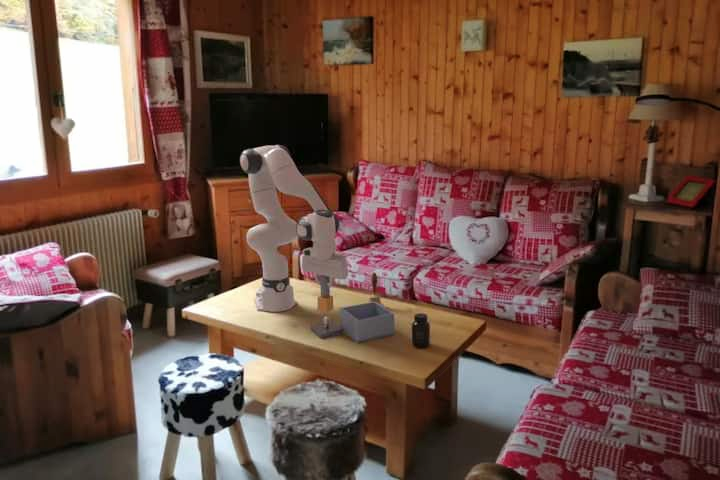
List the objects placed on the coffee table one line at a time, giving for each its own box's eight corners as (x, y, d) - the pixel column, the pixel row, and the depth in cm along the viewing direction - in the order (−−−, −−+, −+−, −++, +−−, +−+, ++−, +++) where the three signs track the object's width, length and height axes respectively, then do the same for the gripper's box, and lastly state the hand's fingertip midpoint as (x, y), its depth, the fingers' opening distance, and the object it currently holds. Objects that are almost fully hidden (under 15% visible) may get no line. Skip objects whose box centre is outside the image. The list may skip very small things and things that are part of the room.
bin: (340, 328, 239) (339, 308, 237) (375, 321, 246) (374, 301, 243) (358, 343, 225) (357, 321, 223) (394, 335, 232) (394, 313, 230)
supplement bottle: (433, 344, 223) (433, 314, 220) (422, 350, 218) (423, 320, 215) (418, 339, 227) (419, 310, 224) (408, 345, 222) (408, 315, 219)
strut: (324, 306, 237) (323, 272, 233) (333, 309, 235) (332, 274, 231) (317, 310, 234) (316, 275, 230) (326, 312, 231) (326, 277, 227)
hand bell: (361, 307, 263) (361, 272, 259) (375, 302, 268) (375, 269, 264) (374, 312, 257) (373, 277, 253) (388, 307, 262) (387, 273, 258)
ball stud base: (310, 329, 238) (310, 315, 237) (333, 325, 243) (332, 310, 241) (320, 338, 230) (319, 323, 228) (343, 333, 234) (343, 318, 232)
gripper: (351, 254, 225) (351, 288, 229) (308, 246, 236) (309, 279, 239) (341, 258, 220) (342, 292, 224) (299, 250, 231) (300, 283, 234)
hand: (325, 285), depth 232 cm, fingers closed on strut, 4 cm apart
